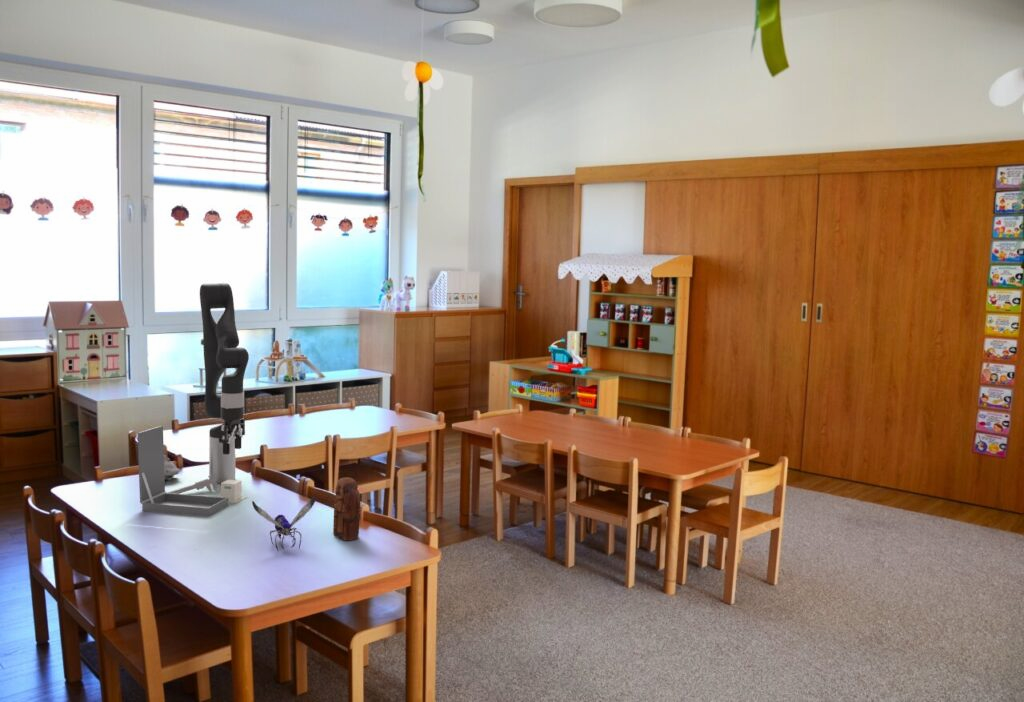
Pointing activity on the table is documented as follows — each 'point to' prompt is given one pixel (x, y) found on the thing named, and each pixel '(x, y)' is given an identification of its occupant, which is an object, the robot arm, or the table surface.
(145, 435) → the equipment case
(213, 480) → the caliper
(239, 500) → the mat
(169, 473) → the grey clay mound
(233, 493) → the block
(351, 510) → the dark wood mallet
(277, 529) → the mechanical insect
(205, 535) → the table surface
